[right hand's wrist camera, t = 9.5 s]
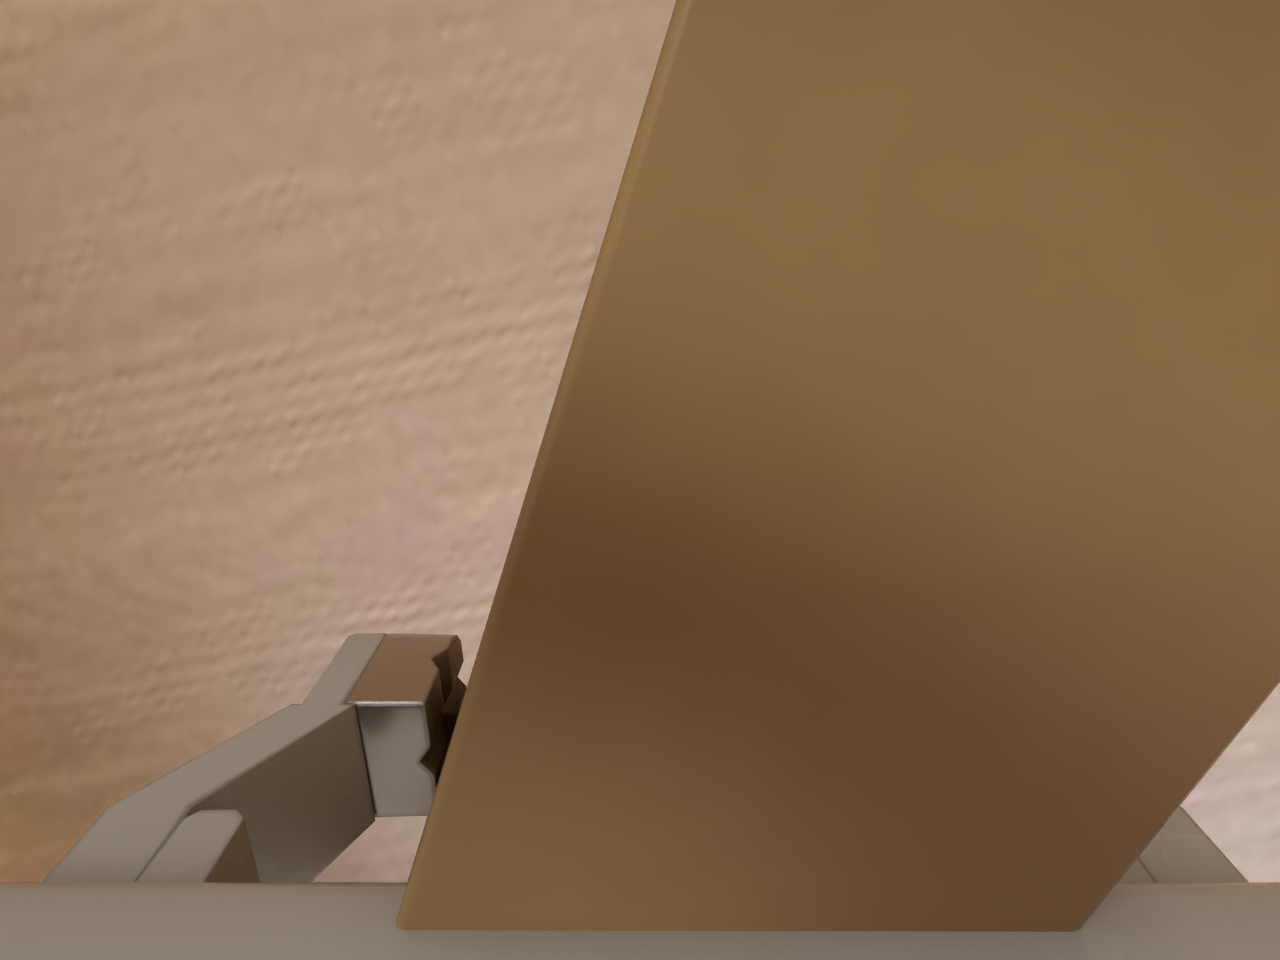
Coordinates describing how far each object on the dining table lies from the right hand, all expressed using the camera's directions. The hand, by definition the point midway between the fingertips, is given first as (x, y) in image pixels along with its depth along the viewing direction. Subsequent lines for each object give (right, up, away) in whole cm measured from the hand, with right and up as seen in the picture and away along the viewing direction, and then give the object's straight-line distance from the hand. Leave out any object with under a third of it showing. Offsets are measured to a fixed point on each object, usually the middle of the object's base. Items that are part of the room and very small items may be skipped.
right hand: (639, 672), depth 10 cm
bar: (+2, +8, +1) cm, 8 cm away
